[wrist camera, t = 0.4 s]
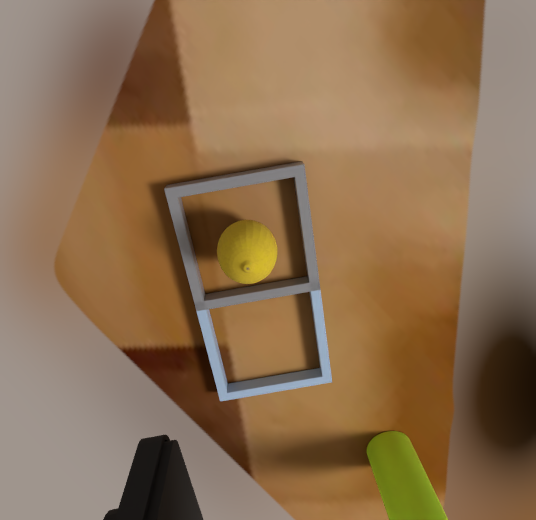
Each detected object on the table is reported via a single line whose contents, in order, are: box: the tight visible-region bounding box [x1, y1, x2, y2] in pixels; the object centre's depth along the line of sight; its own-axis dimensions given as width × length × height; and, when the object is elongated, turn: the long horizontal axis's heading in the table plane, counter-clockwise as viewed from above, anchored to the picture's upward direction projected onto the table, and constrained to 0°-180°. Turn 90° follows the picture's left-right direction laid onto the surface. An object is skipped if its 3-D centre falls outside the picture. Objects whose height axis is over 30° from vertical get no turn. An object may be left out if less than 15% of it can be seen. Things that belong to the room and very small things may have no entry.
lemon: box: [217, 220, 277, 284], centre depth 38 cm, size 6×6×8 cm
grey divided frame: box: [164, 161, 332, 401], centre depth 43 cm, size 25×13×2 cm, turn 9°
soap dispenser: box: [366, 431, 448, 520], centre depth 45 cm, size 6×7×20 cm
